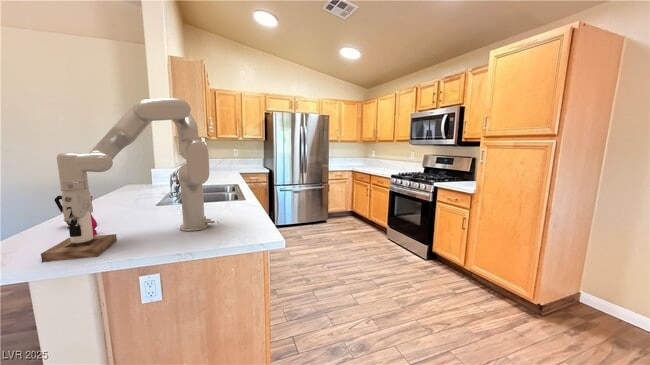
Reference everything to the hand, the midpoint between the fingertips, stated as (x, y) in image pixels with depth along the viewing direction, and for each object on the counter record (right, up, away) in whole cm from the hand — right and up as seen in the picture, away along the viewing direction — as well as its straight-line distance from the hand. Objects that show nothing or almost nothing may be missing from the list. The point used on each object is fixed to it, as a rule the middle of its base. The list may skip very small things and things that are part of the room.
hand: (80, 233), depth 101 cm
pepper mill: (-12, -5, +17) cm, 22 cm away
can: (0, -3, +1) cm, 3 cm away
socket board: (0, -7, +1) cm, 7 cm away
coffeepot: (-28, -3, +29) cm, 40 cm away
